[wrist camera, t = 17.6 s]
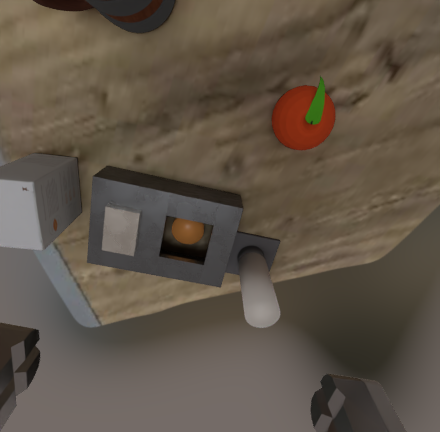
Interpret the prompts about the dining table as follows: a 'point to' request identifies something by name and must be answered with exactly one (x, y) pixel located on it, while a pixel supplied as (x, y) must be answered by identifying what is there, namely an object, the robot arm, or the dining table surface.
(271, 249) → the mat
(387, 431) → the robot arm
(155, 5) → the mug
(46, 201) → the small box
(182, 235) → the orange rounded piece
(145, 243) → the panel
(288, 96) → the clementine
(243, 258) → the white cylinder
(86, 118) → the dining table surface
